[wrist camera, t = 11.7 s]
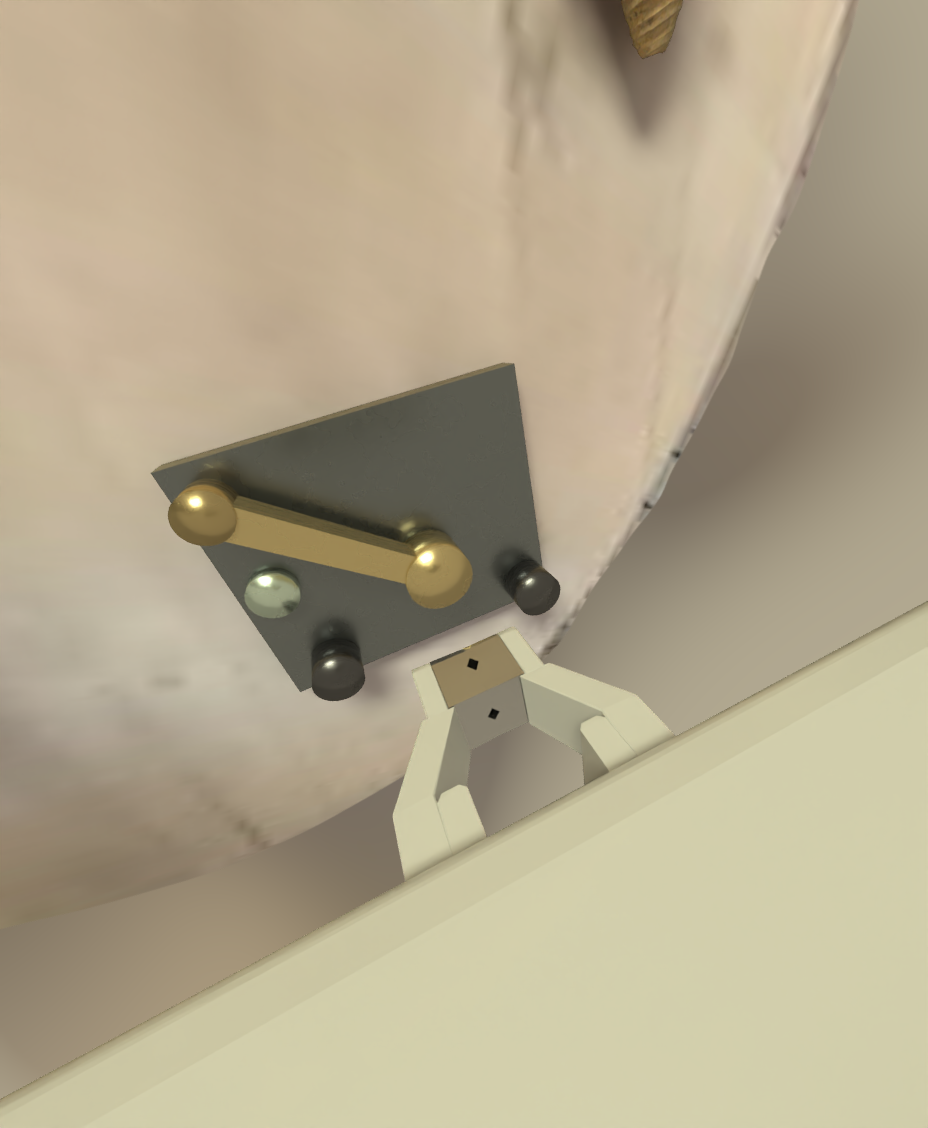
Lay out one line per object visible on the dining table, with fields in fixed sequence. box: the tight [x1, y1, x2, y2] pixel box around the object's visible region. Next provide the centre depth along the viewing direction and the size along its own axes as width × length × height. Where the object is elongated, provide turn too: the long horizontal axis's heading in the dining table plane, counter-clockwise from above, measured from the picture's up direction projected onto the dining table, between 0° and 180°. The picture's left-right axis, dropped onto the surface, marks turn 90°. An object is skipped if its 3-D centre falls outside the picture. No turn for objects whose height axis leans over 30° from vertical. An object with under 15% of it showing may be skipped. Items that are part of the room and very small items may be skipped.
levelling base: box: [151, 363, 560, 701], centre depth 30 cm, size 20×24×5 cm
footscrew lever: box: [168, 479, 473, 609], centre depth 27 cm, size 19×5×4 cm, turn 64°
